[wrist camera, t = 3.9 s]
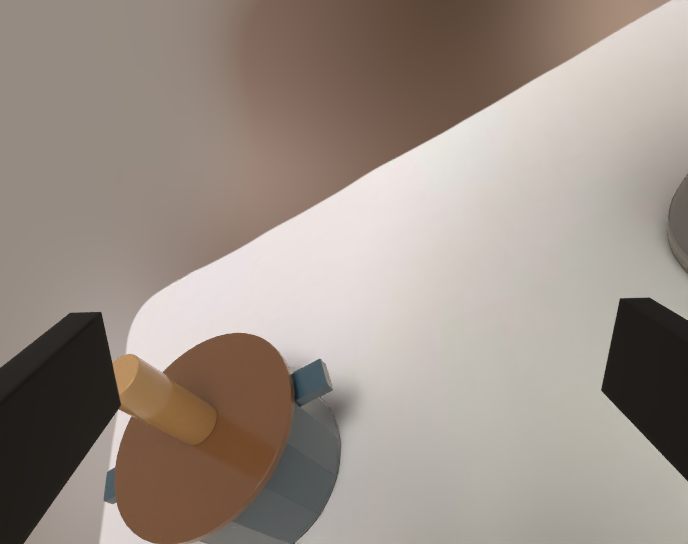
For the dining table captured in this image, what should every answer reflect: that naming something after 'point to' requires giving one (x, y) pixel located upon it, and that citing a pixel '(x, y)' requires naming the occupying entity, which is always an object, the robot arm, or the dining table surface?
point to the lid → (200, 436)
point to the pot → (288, 471)
